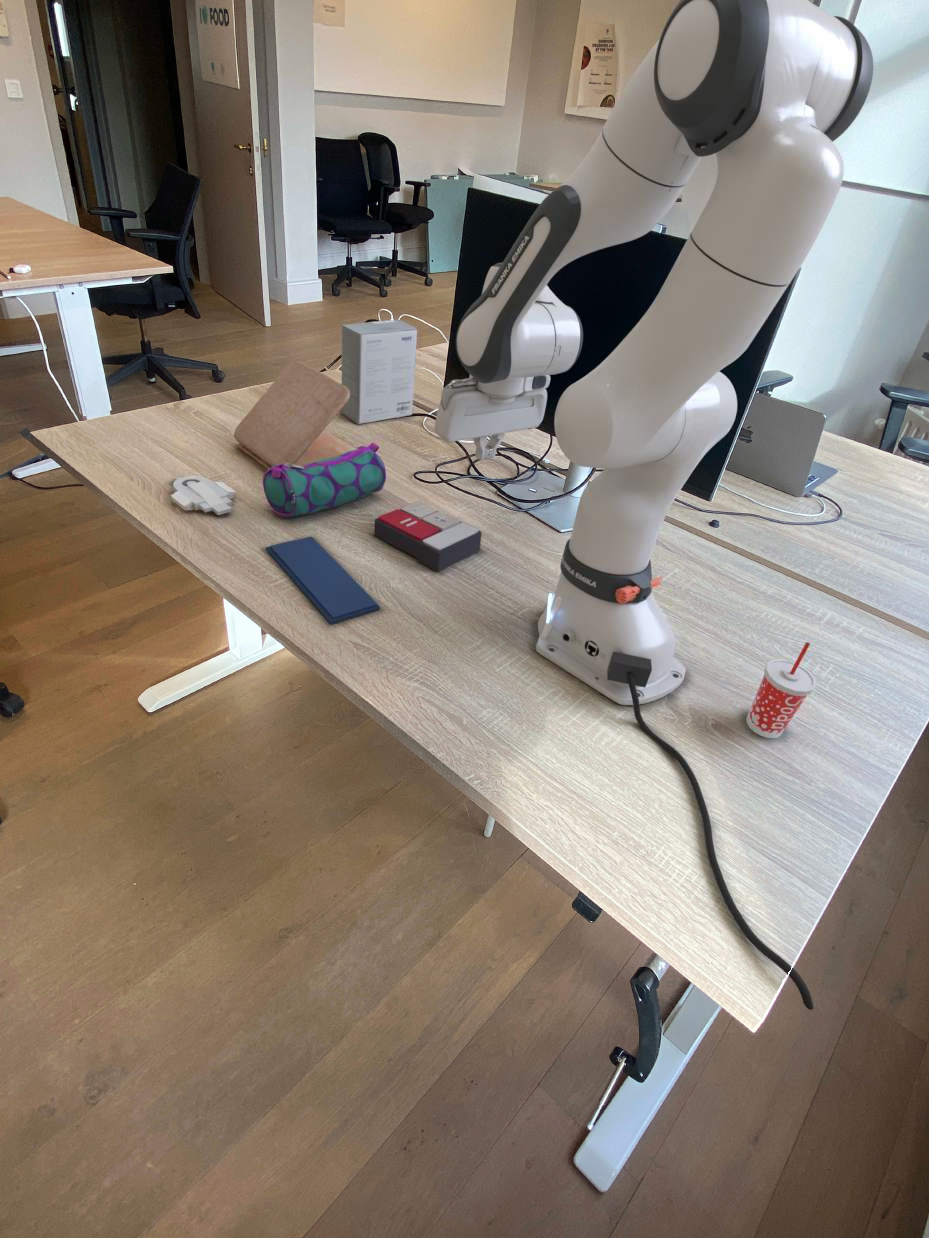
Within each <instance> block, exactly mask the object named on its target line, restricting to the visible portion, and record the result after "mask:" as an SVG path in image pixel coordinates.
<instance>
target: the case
mask: <svg viewBox="0 0 929 1238" xmlns="http://www.w3.org/2000/svg"><path fill="white" fill-rule="evenodd" d="M349 398H350V391H349V389H348V388H347V387H345V386H344V385H342V383H341V382H338V381H336V380H335V379H334V378H332V377H330V376H328V375H327V374H325V373H324V372H321V371H320V370H317V369H315V368H313V367H311V366H310V365H308V364H305V363H304V362H301V361H297V360H296V361H293V362H290V363H289V364H288V365H286V367H285V368H284V369H283V370H282V372H281V373H280V374H279V375H278V377H276V379H275V380H274V382H273V383H272V384H271V385H270V386H269V387H268V388H267V390H266V391H265V392H264V393H263V394H262V396H260V398H259V399H258V401H256V403H255V404H254V406H252V408H251V409H250V410H249V411H248V413H247V414H246V415H245V416H244V418H243V419H242V420H241V421H240V423H238V425H237V426H236V427H235V430H234V431H233V437H234V439H235V441H236V442H238V444H237V446H238V448H239V449H240V450H241V451H242V452H243V453H245V454H247V455H248V456H249V457H251V458H252V459H253V460H255V461H256V462H258V463H259V464H260V465H261V466H263V467H264V468H266V469H267V470H268V469H270V468H271V467H273V466H274V465H276V464H285V463H290V464H293V465H299V466H304V465H309V464H311V463H314V462H317V461H321V460H324V459H328V458H332V457H335V456H338V455H342V454H344V453H346V452H348V451H352V450H356V449H357V448H358V447H356V446H355V445H353V444H351V443H350V442H349V441H347V440H345V439H344V438H342V437H340V436H338V435H336V434H335V433H334V432H331V431H330V430H328V429H326V428H327V427H328V425H329V424H330V423H331V422H332V421H333V419H335V417H336V416H337V415H338V414H339V413H340V411H342V408H343V407H344V406H345V404H346V403H347V402H348V400H349ZM288 465H289V464H288Z"/></svg>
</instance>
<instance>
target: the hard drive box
mask: <svg viewBox="0 0 929 1238" xmlns="http://www.w3.org/2000/svg"><path fill="white" fill-rule="evenodd" d="M418 330H419V329H418V328H417V327H416V326H414V325H412V324H409V323H407V322H405V321H403V320H401V319H389V320H377V321H369V322H357V323H348V324H341V384H342V385H344V386H345V387H347V388H348V389H349V391H350V398H349V400H348V402H347V403H346V404H345V406H344V407H343V408H342V409H341V414H342V415H343V416H345V417H346V418H348V419H349V420H351V421H352V422H354V423H355V424H357V425H362V424H367V423H375V422H378V421H379V422H380V421H383V420H384V421H385V420H389V419H398V418H403V417H407V416H412V415H413V407H414V406H413V405H414V392H415V391H414V390H415V389H414V388H415V376H416V375H415V373H416V361H417V348H418V347H417V343H418V332H419V331H418Z"/></svg>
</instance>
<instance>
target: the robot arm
mask: <svg viewBox="0 0 929 1238" xmlns="http://www.w3.org/2000/svg"><path fill="white" fill-rule="evenodd" d="M873 75H874V56H873V51H872V49H871V47H870V44H869V42H868V40H867V39H866V37H865V36H864V34H863V33H862V32H861V30H860V29H858V27H857V26H855V25H854V24H853V23H852V22H851V21H849V20H848V19H846V18H845V17H842V16H839V15H833V14H831V13H830V12H828V11H827V10H825V9H824V8H822V7H819V6H818V5H816V4H815V3H812V2H811V1H810V0H679V2H678V3H677V4H676V6H675V7H674V8H673V10H672V11H671V13H670V15H669V17H668V18H667V21H666V23H665V25H664V27H663V30H662V32H661V35H660V38H659V39H658V40H657V41H656V42H655V43H654V45H653V46H652V47H651V49H650V50H649V51H648V53H647V54H646V56H645V57H644V59H642V61H641V63H640V64H639V66H638V67H637V68H636V70H635V71H634V73H633V74H632V76H631V78H630V79H629V81H628V82H627V84H626V86H625V87H624V89H623V90H622V92H621V94H620V95H619V97H618V99H617V101H616V102H615V104H614V106H613V108H612V109H611V112H610V114H609V116H608V117H607V119H606V121H605V123H604V125H603V128H602V129H601V131H600V133H599V135H598V137H597V138H596V139H595V142H594V143H593V145H592V146H591V148H590V149H589V151H588V152H587V154H586V155H585V157H584V158H583V159H582V160H581V162H580V163H579V164H578V165H577V167H576V168H575V169H574V170H573V172H572V173H571V174H570V175H569V176H567V178H566V179H565V180H564V181H563V182H562V183H561V184H559V186H557V188H555V189H554V190H553V191H551V192H550V193H549V194H548V195H547V196H546V197H544V199H543V200H542V201H541V202H540V204H539V205H538V206H537V208H536V209H535V210H534V212H533V214H532V215H531V216H530V218H529V219H528V220H527V222H526V224H525V225H524V227H523V229H521V230H522V231H521V232H520V233H519V235H518V237H517V238H516V240H515V242H514V243H513V244H512V246H511V248H510V250H509V251H508V253H507V255H506V257H505V258H504V259H503V260H502V262H497V263H494V264H493V265H492V266H491V267H490V268H489V270H488V272H487V274H486V277H485V279H484V284H483V287H482V291H481V295H480V296H479V297H478V298H477V299H476V300H475V301H474V302H473V303H472V304H471V305H470V306H469V308H468V309H467V310H466V312H465V313H464V314H463V316H462V318H461V320H460V322H459V325H458V327H457V329H456V334H455V352H456V355H457V358H458V360H459V362H460V364H461V365H462V367H463V368H464V370H465V371H466V372H467V373H468V374H469V377H468V378H467V377H466V378H462V379H452V380H451V381H449V383H448V384H446V386H445V387H444V388H442V390H441V394H440V401H439V404H438V408H437V412H436V416H435V422H434V432H435V434H436V435H437V436H438V437H439V438H441V439H442V440H444V441H446V442H448V443H454V442H459V441H465V440H472V441H473V443H474V445H475V447H476V448H475V458H476V459H478V460H479V461H483V460H488V459H493V458H495V457H496V453H497V449H499V446H500V445H501V443H502V442H503V440H504V438H505V434H506V433H513V432H518V431H525V430H530V429H537V428H538V427H539V426H540V425H541V423H542V422H543V420H544V417H545V412H546V407H547V402H548V391H547V388H549V386H550V383H551V375H559V374H562V373H566V372H568V371H569V370H570V369H571V368H573V366H574V365H575V364H576V362H577V360H578V359H579V357H580V354H581V352H582V348H583V341H584V330H583V329H584V328H583V324H582V322H581V319H580V317H579V315H578V313H577V312H576V311H575V310H574V308H573V307H571V306H570V305H566V304H565V303H563V301H562V300H561V299H559V298H558V297H557V296H556V294H555V293H554V292H553V291H552V290H551V289H550V287H549V286H548V284H549V283H550V281H551V279H553V277H554V276H555V275H556V274H557V273H558V272H559V271H560V270H561V269H563V268H564V267H565V266H567V265H568V264H570V263H572V262H573V261H575V260H577V259H579V258H582V257H584V256H586V255H588V254H591V253H595V252H597V251H599V250H603V249H606V248H610V247H613V246H614V247H615V246H618V245H622V244H624V243H629V242H632V241H634V240H637V239H639V238H641V237H643V236H645V235H646V234H648V233H650V232H651V230H653V229H654V228H655V227H656V226H657V225H658V224H659V223H660V222H661V221H662V220H663V219H664V218H665V216H667V214H668V212H669V211H670V210H671V209H672V207H673V206H674V204H675V203H676V202H677V200H678V198H679V197H680V195H681V194H682V192H683V190H684V189H685V187H686V185H687V183H688V182H689V180H690V179H691V177H692V175H693V174H694V172H695V170H696V168H697V167H698V166H699V163H700V162H701V160H702V158H703V157H708V156H711V155H714V154H715V156H716V162H717V173H716V174H717V175H716V180H715V184H714V187H713V189H712V191H711V194H710V195H709V198H708V199H707V202H706V204H705V205H704V208H703V209H702V211H701V213H700V215H699V217H698V219H697V220H696V222H695V224H694V226H693V228H692V230H691V232H690V233H689V236H688V238H687V240H686V241H685V244H684V245H683V247H682V249H681V251H680V252H679V255H678V256H677V258H676V260H675V262H674V264H673V266H672V267H671V269H670V271H669V273H668V275H667V277H666V279H665V281H664V283H663V285H662V286H661V288H660V290H659V292H658V294H657V295H656V297H655V298H654V300H653V302H652V303H651V305H650V306H649V308H648V309H647V311H646V312H645V313H644V314H643V315H642V317H641V318H640V319H639V321H638V322H637V323H636V324H635V326H634V327H633V328H631V330H630V331H629V332H628V334H627V335H626V336H625V337H624V338H623V339H622V340H621V341H620V342H619V344H618V345H617V346H616V347H615V348H614V349H613V350H612V352H611V353H609V354H608V356H607V357H606V358H605V359H603V360H602V361H601V362H600V364H598V365H597V366H596V367H594V369H592V370H591V371H590V372H589V373H587V374H586V375H585V376H583V377H581V378H580V379H579V380H577V381H576V382H574V383H572V384H570V385H569V386H568V387H567V388H566V389H565V390H564V391H563V393H562V394H561V396H560V397H559V399H558V402H557V405H556V408H555V412H554V422H553V423H554V424H553V426H554V432H555V439H556V441H557V445H558V446H559V448H560V450H561V452H562V454H563V455H564V456H565V457H566V459H568V461H570V462H571V463H573V464H574V465H576V466H578V467H581V468H582V467H583V468H591V469H600V470H601V469H602V471H601V472H600V473H599V474H598V475H597V476H596V477H595V478H593V479H592V480H591V481H590V482H589V483H588V485H587V486H586V487H585V488H584V490H583V491H582V493H581V495H580V498H579V502H578V506H577V510H576V514H575V518H574V522H573V526H572V530H571V535H570V537H569V539H567V541H566V543H565V545H564V550H563V553H562V556H561V560H560V566H559V568H560V574H559V578H558V580H557V583H556V586H555V587H554V590H553V593H549V594H548V599H547V604H546V605H547V606H546V607H545V609H544V611H543V613H542V614H541V615H540V617H539V618H538V621H537V632H538V639H537V642H536V644H535V650H536V652H537V653H538V654H539V655H540V656H543V657H544V658H546V659H547V660H549V661H550V662H552V663H554V664H555V665H557V666H558V667H560V668H561V669H563V670H564V671H565V672H567V673H569V674H571V675H572V676H574V677H575V678H577V679H579V680H580V681H581V682H583V683H585V684H586V685H588V686H590V687H591V688H593V690H595V691H597V692H599V693H600V694H602V695H603V696H605V697H607V698H608V699H610V700H612V701H613V702H615V703H617V704H618V705H623V706H633V714H634V718H635V721H636V722H637V725H638V726H639V728H640V729H641V730H642V731H643V732H644V733H645V734H646V735H647V736H648V737H649V738H650V739H651V740H653V742H655V743H656V744H658V746H660V747H661V748H662V749H664V750H665V751H666V752H668V753H669V754H670V755H671V756H672V757H673V758H674V759H675V760H676V762H677V763H679V765H680V767H681V768H682V770H683V772H684V773H685V774H686V777H687V778H688V781H689V783H690V785H691V787H692V791H693V794H694V796H695V800H696V803H697V806H698V809H699V812H700V816H701V819H702V820H701V821H702V825H703V826H702V827H703V832H704V842H705V849H706V852H707V858H708V861H709V864H710V868H711V871H712V874H713V877H714V879H715V882H716V884H717V888H718V890H719V892H720V895H721V897H722V899H723V901H724V903H725V905H726V907H727V909H728V911H729V913H730V914H731V917H732V918H733V919H734V921H735V924H736V925H737V926H738V927H739V929H740V931H741V932H742V933H743V935H744V936H745V938H747V940H748V941H749V943H751V944H752V946H753V947H755V949H757V950H758V951H759V952H760V953H761V954H763V956H764V957H766V958H767V959H769V960H770V961H771V962H772V963H773V964H775V965H776V967H778V968H779V969H781V970H782V971H783V972H784V973H785V974H786V975H787V976H788V972H789V971H790V970H791V967H793V966H792V965H791V964H790V963H788V961H786V960H785V959H784V958H782V957H781V956H780V955H778V953H776V952H775V951H774V950H772V949H771V948H770V947H769V946H767V945H766V944H765V943H764V942H763V941H762V940H760V938H759V937H758V936H757V935H756V934H755V933H754V931H753V930H752V929H751V927H750V926H749V925H748V923H747V922H746V920H745V919H744V917H743V916H742V914H741V912H740V910H739V909H738V907H737V905H736V903H735V902H734V900H733V897H732V896H731V893H730V891H729V888H728V886H727V883H726V881H725V878H724V876H723V873H722V870H721V868H720V865H719V862H718V859H717V855H716V851H715V845H714V839H713V832H712V831H713V830H712V824H711V819H710V814H709V811H708V809H707V808H708V807H707V804H706V802H705V799H704V796H703V792H702V790H701V787H700V784H699V782H698V779H697V777H696V776H695V775H696V774H695V773H694V772H693V770H692V768H691V767H690V765H689V763H688V762H687V760H686V759H685V758H684V757H683V755H682V754H681V753H680V752H679V751H678V750H677V749H676V748H675V747H673V746H672V745H670V744H669V743H667V742H666V741H665V740H663V739H662V738H661V737H659V736H658V735H656V733H654V732H653V730H651V729H650V728H649V726H648V725H647V724H646V722H645V721H644V718H643V717H642V716H643V715H642V713H641V705H644V704H648V703H652V702H654V701H657V700H659V699H661V698H664V697H665V696H667V695H669V694H671V693H673V692H674V691H675V690H677V688H679V687H680V686H681V684H682V683H683V681H684V678H685V675H686V672H687V668H686V667H685V665H684V664H683V663H682V662H681V661H680V660H679V659H678V658H677V657H676V655H675V654H676V648H677V636H676V633H675V632H676V631H675V630H674V629H673V627H672V625H671V624H670V622H669V621H668V618H667V614H666V613H665V612H664V611H663V610H662V608H661V606H660V603H658V601H657V599H656V597H655V595H654V593H653V592H652V591H653V589H654V588H655V587H658V586H659V585H661V581H662V579H663V576H659V577H656V578H654V579H653V573H652V561H651V558H652V557H651V556H652V554H653V552H654V549H655V546H656V543H657V541H658V537H659V535H660V531H661V528H662V526H663V523H664V521H665V519H666V517H667V514H668V512H669V510H670V508H671V506H672V505H673V502H674V501H675V500H676V499H677V498H676V497H678V495H679V493H680V491H681V490H682V488H683V487H684V485H685V484H686V482H687V481H688V480H689V477H690V476H691V475H692V474H693V472H694V470H695V469H696V468H697V466H698V465H699V463H700V462H701V461H702V459H703V458H704V456H706V454H707V453H708V452H709V451H710V450H711V449H712V448H713V447H714V446H715V445H716V444H717V443H719V442H720V441H721V440H722V439H723V438H724V437H725V436H726V435H727V434H728V433H729V432H730V430H731V429H732V427H733V425H734V422H735V420H736V416H737V412H738V398H737V397H738V396H737V393H736V390H735V388H734V385H733V383H732V382H731V380H730V379H729V378H728V377H727V376H726V375H725V374H724V373H722V372H721V370H723V369H724V368H727V366H729V365H731V364H732V363H733V362H735V361H736V360H737V359H739V358H740V357H741V356H742V355H743V354H744V352H746V351H747V350H748V348H749V346H750V345H751V344H752V342H753V341H754V339H755V337H757V334H759V331H760V330H761V328H762V327H763V325H764V324H765V322H766V321H767V320H768V318H769V316H770V314H771V313H772V312H773V310H774V308H776V305H777V304H778V302H779V301H780V299H781V297H782V296H783V295H784V293H785V291H786V290H787V288H788V287H789V285H790V284H791V282H792V281H793V279H794V278H795V276H796V275H797V273H798V271H799V270H800V267H802V265H803V263H804V261H805V259H806V258H807V257H808V254H809V253H810V251H811V250H812V247H813V246H814V245H815V242H816V240H817V239H818V236H819V234H820V233H821V231H822V229H823V226H824V225H825V223H826V220H827V218H828V216H829V214H830V212H831V210H832V208H833V205H834V203H835V201H836V199H837V196H838V194H839V191H840V189H841V186H842V184H843V180H844V175H845V174H844V171H845V167H844V160H843V158H842V154H841V153H840V151H839V149H838V147H837V145H836V144H835V143H834V142H835V141H836V140H838V138H840V137H841V136H842V135H843V134H844V133H845V132H846V131H847V130H848V129H849V128H850V126H851V125H852V124H853V123H854V122H855V120H856V119H857V117H858V116H859V114H860V112H861V110H862V109H863V107H864V105H865V103H866V101H867V98H868V96H869V93H870V90H871V85H872V81H873ZM488 436H490V438H489V440H488ZM487 441H488V442H487ZM486 442H487V444H485V443H486ZM788 977H789V978H790V980H791V981H792V982H793V983H794V985H795V986H796V988H797V990H798V992H799V994H800V996H801V999H802V1003H803V1005H804V1006H805V1008H806V1009H807V1010H809V1011H813V1010H814V1003H813V998H812V996H811V992H810V990H809V988H808V986H807V984H806V982H805V980H804V979H803V977H802V976H801V975H800V974H799V972H798V971H796V969H795V968H794V967H793V968H792V970H791V972H790V974H789V976H788Z"/></svg>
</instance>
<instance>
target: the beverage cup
mask: <svg viewBox="0 0 929 1238" xmlns="http://www.w3.org/2000/svg"><path fill="white" fill-rule="evenodd" d="M810 645H811V643H810V642H809V641H807V642H805V643H804V645H803V648H802V649H801V650H800V653H799V654H798V657H797V659H795V660H796V661H791V660H789V659H783V658H776V659H772V660H770V661H768V662H767V663H766V664H765V668H764V670H763V671H764V672H763V677H762V679H761V682H760V684H759V687H758V689H757V691H756V694H755V696H754V699H753V701H752V703H751V707H750V709H749V711H748V714H747V716H746V724H747V726H748V728H749V729H750V730H751V731H752V732H754V733H755V734H757V735H759V736H760V737H763V738H765V739H776V738H779V737H780V736H781V735H782V734H783V732H784V731H785V729H786V728H787V726H788V725H789V723H790V722H791V720H792V719H793V717H794V716H795V714H796V713H797V711H798V710H799V709H800V707H801V705H802V704H803V702H804V701H805V700H806V698H807V697H808V696H810V695H811V694H812V692H814V689H816V687H817V679H816V677H815V676H814V674H813V673H812V672H811V671H809V669H807V668H806V667H805V666H803V665H800V664H801V662H802V660H803V658H804V656H805V655H806V653H807V651H808V649H809V647H810Z"/></svg>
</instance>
